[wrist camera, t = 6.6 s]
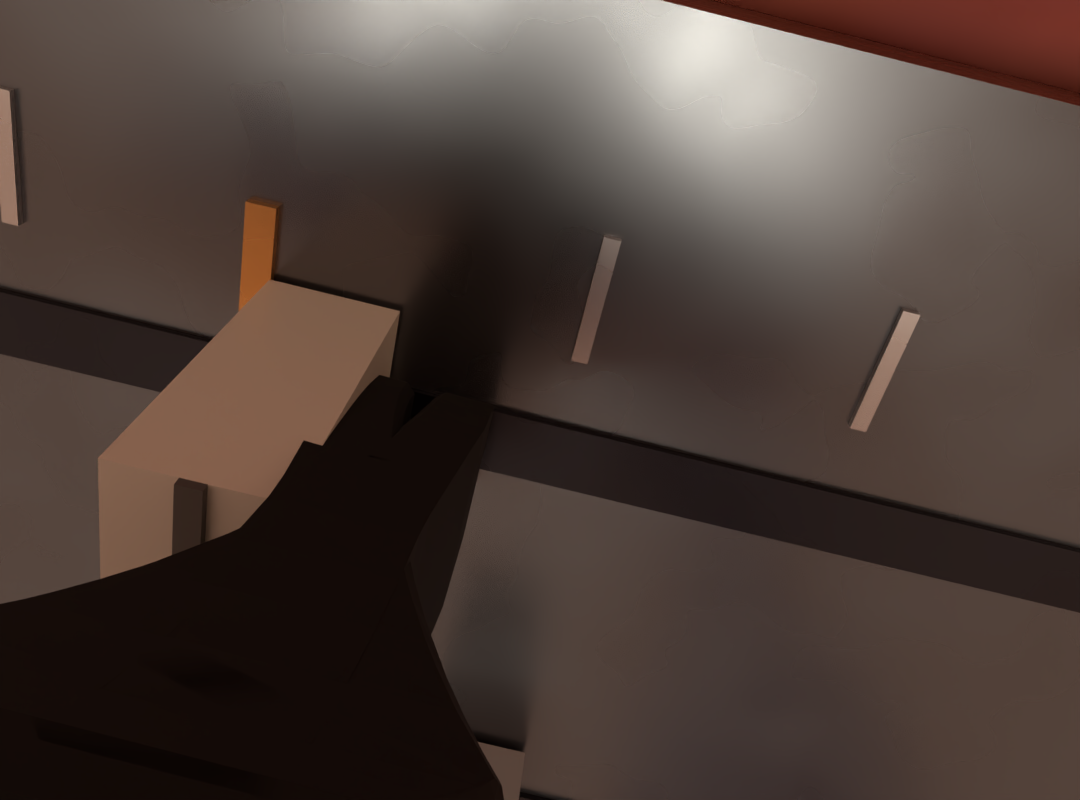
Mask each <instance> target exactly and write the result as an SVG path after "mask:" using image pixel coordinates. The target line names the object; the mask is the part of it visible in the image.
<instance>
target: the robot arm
mask: <svg viewBox="0 0 1080 800" xmlns="http://www.w3.org/2000/svg"><path fill="white" fill-rule="evenodd" d="M414 396H415V393H414V391H413V390H412V388H411V386H410V385H409V383H408V382H405V381H401V380H397V379H393V378H389V377H386V376H382V375H379V376H377V377H376V378H375V379H374V380H373V381H372V382H371V383H370V384H369V385H368V386H367V387H366V388H365V389H364V391H363V392H362V393H361V394H360V395H359V396H358V398H357V399H356V400H355V402H354V403H353V404H352V406H351V407H350V408H349V410H348V411H347V412H346V414H345V415H344V416H343V418H342V419H341V420H340V422H339V423H338V425H337V426H336V427H335V429H334V430H333V432H332V433H331V434H330V436H329V437H328V439H327V440H326V441H325V443H324V444H323V445H318V444H315V443H312V442H308V441H305V440H304V441H303V442H302V444H301V446H300V448H299V449H298V451H297V453H296V454H295V456H294V458H293V460H292V461H291V463H290V465H289V467H288V468H287V470H286V472H285V474H284V475H283V477H282V478H281V479H280V481H279V482H278V484H277V485H276V487H275V488H274V489H273V491H272V492H271V494H270V495H269V496H268V497H267V499H266V500H265V501H264V502H263V503H262V504H261V505H260V506H259V507H258V509H257V510H256V511H255V512H254V513H253V514H252V515H251V516H250V517H249V519H248V520H247V521H246V522H245V523H244V524H243V525H242V526H241V527H240V528H239V529H237V530H234V531H232V532H230V533H228V534H225V535H223V536H220V537H218V538H215V539H212V540H210V541H207V542H204V543H202V544H199V545H197V546H194V547H191V548H189V549H186V550H184V551H181V552H178V553H176V554H173V555H171V556H168V557H165V558H163V559H160V560H158V561H155V562H152V563H149V564H146V565H143V566H140V567H137V568H134V569H131V570H127V571H124V572H121V573H118V574H114V575H111V576H108V577H105V578H102V579H98V580H94V581H91V582H87V583H83V584H80V585H76V586H73V587H69V588H65V589H62V590H58V591H54V592H50V593H46V594H42V595H38V596H34V597H30V598H26V599H22V600H17V601H12V602H7V603H2V604H0V800H504V796H503V789H502V785H501V783H500V781H499V779H498V777H497V776H496V774H495V772H494V770H493V769H492V767H491V765H490V763H489V762H488V760H487V758H486V756H485V755H484V753H483V751H482V749H481V747H480V745H479V743H478V742H477V740H476V738H475V736H474V734H473V732H472V730H471V728H470V726H469V724H468V722H467V720H466V718H465V716H464V714H463V712H462V710H461V708H460V705H459V703H458V701H457V699H456V697H455V694H454V692H453V690H452V688H451V686H450V683H449V681H448V679H447V677H446V674H445V671H444V669H443V666H442V663H441V660H440V658H439V655H438V652H437V649H436V647H435V644H434V641H433V639H432V636H431V634H432V632H433V629H434V627H435V625H436V622H437V620H438V617H439V615H440V613H441V610H442V608H443V605H444V601H445V598H446V595H447V591H448V588H449V584H450V581H451V578H452V574H453V571H454V567H455V564H456V560H457V557H458V554H459V550H460V547H461V543H462V540H463V536H464V532H465V528H466V524H467V519H468V515H469V511H470V507H471V503H472V498H473V494H474V490H475V486H476V482H477V478H478V473H479V469H480V465H481V461H482V457H483V453H484V448H485V444H486V440H487V436H488V432H489V428H490V423H491V419H492V415H493V411H494V407H495V405H493V404H489V403H485V402H481V401H477V400H474V399H470V398H466V397H462V396H458V395H454V394H451V393H447V392H445V393H443V394H441V395H439V396H438V397H436V398H434V399H433V400H432V401H431V402H430V403H429V404H428V405H427V406H426V407H424V408H423V409H422V410H421V411H420V412H419V413H418V414H417V415H415V416H414V417H413V418H412V419H411V420H410V417H411V412H412V406H413V401H414Z"/></svg>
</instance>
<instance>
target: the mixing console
mask: <svg viewBox="0 0 1080 800" xmlns="http://www.w3.org/2000/svg"><path fill="white" fill-rule="evenodd" d="M269 280H274V281H278V282H282V283H286V284H290V285H294V286H299V287H303V288H307V289H311V290H315V291H319V292H323V293H327V294H331V295H336V296H340V297H344V298H348V299H352V300H356V301H360V302H364V303H369V304H373V305H377V306H381V307H385V308H389V309H393V310H397V311H400V315H399V321H398V327H397V334H396V340H395V346H394V352H393V359H392V365H391V371H390V378H393V379H397V380H401V381H405V382H408V383H409V385H410V386H411V388H412V390H413V391H414V393H415V396H414V401H413V406H412V412H411V417H410V420H411V419H412V418H413V417H414V416H415V415H417V414H418V413H419V412H420V411H421V410H422V409H423V408H424V407H426V406H427V405H428V404H429V403H430V402H431V401H432V400H433V399H434V398H436V397H438V396H439V395H441V394H443V393H445V392H447V393H451V394H454V395H458V396H462V397H466V398H470V399H474V400H477V401H481V402H485V403H489V404H493V405H495V407H494V411H493V415H492V419H491V423H490V428H489V432H488V436H487V440H486V444H485V448H484V453H483V457H482V461H481V465H480V469H479V473H478V478H477V482H476V486H475V490H474V494H473V498H472V503H471V507H470V511H469V515H468V519H467V524H466V528H465V532H464V536H463V540H462V543H461V547H460V550H459V554H458V557H457V560H456V564H455V567H454V571H453V574H452V578H451V581H450V584H449V588H448V591H447V595H446V598H445V601H444V605H443V608H442V610H441V613H440V615H439V617H438V620H437V622H436V625H435V627H434V629H433V632H432V634H431V636H432V639H433V641H434V644H435V647H436V649H437V652H438V655H439V658H440V660H441V663H442V666H443V669H444V671H445V674H446V677H447V679H448V681H449V683H450V686H451V688H452V690H453V692H454V694H455V697H456V699H457V701H458V703H459V705H460V708H461V710H462V712H463V714H464V716H465V718H466V720H467V722H468V724H469V726H470V728H471V730H472V732H473V734H474V736H475V738H476V740H477V742H481V743H485V744H489V745H493V746H498V747H502V748H506V749H511V750H515V751H519V752H523V753H525V757H524V764H523V772H522V779H521V786H520V794H519V800H1080V93H1076V92H1072V91H1068V90H1064V89H1060V88H1057V87H1053V86H1049V85H1045V84H1041V83H1037V82H1033V81H1029V80H1025V79H1021V78H1017V77H1013V76H1009V75H1005V74H1001V73H997V72H993V71H989V70H985V69H981V68H977V67H973V66H969V65H966V64H962V63H958V62H954V61H950V60H946V59H942V58H938V57H934V56H930V55H926V54H922V53H918V52H914V51H910V50H906V49H902V48H898V47H894V46H890V45H886V44H882V43H878V42H874V41H871V40H867V39H863V38H859V37H855V36H851V35H847V34H843V33H839V32H835V31H831V30H827V29H823V28H819V27H815V26H811V25H807V24H803V23H799V22H795V21H791V20H787V19H783V18H780V17H776V16H772V15H768V14H764V13H760V12H756V11H752V10H748V9H744V8H740V7H736V6H732V5H728V4H724V3H720V2H716V1H712V0H0V604H2V603H7V602H12V601H17V600H22V599H26V598H30V597H34V596H38V595H42V594H46V593H50V592H54V591H58V590H62V589H65V588H69V587H73V586H76V585H80V584H83V583H87V582H91V581H94V580H98V579H100V537H99V493H98V457H99V456H100V455H101V454H102V453H103V452H104V451H105V450H106V449H107V448H108V447H109V446H110V445H111V444H112V443H113V442H114V441H115V440H116V439H117V438H118V437H119V436H120V435H121V433H122V432H123V431H124V430H125V429H126V428H127V427H128V426H129V425H130V424H131V423H132V422H133V421H134V420H135V419H136V418H137V417H138V416H139V415H140V414H141V413H142V412H143V411H144V410H145V409H146V407H147V406H148V405H149V404H150V403H151V402H152V401H153V400H154V399H155V398H156V397H157V396H158V395H159V394H160V393H161V392H162V391H163V390H164V389H165V388H166V387H167V386H168V385H169V384H170V383H171V381H172V380H173V379H174V378H175V377H176V376H177V375H178V374H179V373H180V372H181V371H182V370H183V369H184V368H185V367H186V366H187V365H188V364H189V363H190V362H191V361H192V360H193V359H194V358H195V357H196V355H197V354H198V353H199V352H200V351H201V350H202V349H203V348H204V347H205V346H206V345H207V344H208V343H209V342H210V341H211V340H212V339H213V338H214V337H215V336H216V335H217V334H218V333H219V332H220V331H221V329H222V328H223V327H224V326H225V325H226V324H227V323H228V322H229V321H230V320H231V319H232V318H233V317H234V316H235V315H236V314H237V313H238V312H239V311H240V310H241V309H242V308H243V307H244V306H245V305H246V303H247V302H248V301H249V300H250V299H251V298H252V297H253V296H254V295H255V294H256V293H257V292H258V291H259V290H260V289H261V288H262V287H263V286H264V285H265V284H266V283H267V282H268V281H269Z"/></svg>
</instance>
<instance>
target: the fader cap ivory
mask: <svg viewBox="0 0 1080 800" xmlns="http://www.w3.org/2000/svg"><path fill="white" fill-rule="evenodd" d="M399 315H400V311H397V310H393V309H389V308H385V307H381V306H377V305H373V304H369V303H364V302H360V301H356V300H352V299H348V298H344V297H340V296H336V295H331V294H327V293H323V292H319V291H315V290H311V289H307V288H303V287H299V286H294V285H290V284H286V283H282V282H278V281H274V280H269V281H268V282H267V283H266V284H265V285H264V286H263V287H262V288H261V289H260V290H259V291H258V292H257V293H256V294H255V295H254V296H253V297H252V298H251V299H250V300H249V301H248V302H247V303H246V305H245V306H244V307H243V308H242V309H241V310H240V311H239V312H238V313H237V314H236V315H235V316H234V317H233V318H232V319H231V320H230V321H229V322H228V323H227V324H226V325H225V326H224V327H223V328H222V329H221V331H220V332H219V333H218V334H217V335H216V336H215V337H214V338H213V339H212V340H211V341H210V342H209V343H208V344H207V345H206V346H205V347H204V348H203V349H202V350H201V351H200V352H199V353H198V354H197V355H196V357H195V358H194V359H193V360H192V361H191V362H190V363H189V364H188V365H187V366H186V367H185V368H184V369H183V370H182V371H181V372H180V373H179V374H178V375H177V376H176V377H175V378H174V379H173V380H172V381H171V383H170V384H169V385H168V386H167V387H166V388H165V389H164V390H163V391H162V392H161V393H160V394H159V395H158V396H157V397H156V398H155V399H154V400H153V401H152V402H151V403H150V404H149V405H148V406H147V407H146V409H145V410H144V411H143V412H142V413H141V414H140V415H139V416H138V417H137V418H136V419H135V420H134V421H133V422H132V423H131V424H130V425H129V426H128V427H127V428H126V429H125V430H124V431H123V432H122V433H121V435H120V436H119V437H118V438H117V439H116V440H115V441H114V442H113V443H112V444H111V445H110V446H109V447H108V448H107V449H106V450H105V451H104V452H103V453H102V454H101V455H100V456H99V457H98V493H99V537H100V579H102V578H105V577H108V576H111V575H114V574H118V573H121V572H124V571H127V570H131V569H134V568H137V567H140V566H143V565H146V564H149V563H152V562H155V561H158V560H160V559H163V558H165V557H168V556H171V555H173V554H176V553H178V552H181V551H184V550H186V549H189V548H191V547H194V546H197V545H199V544H202V543H204V542H207V541H210V540H212V539H215V538H218V537H220V536H223V535H225V534H228V533H230V532H232V531H234V530H237V529H239V528H240V527H241V526H242V525H243V524H244V523H245V522H246V521H247V520H248V519H249V517H250V516H251V515H252V514H253V513H254V512H255V511H256V510H257V509H258V507H259V506H260V505H261V504H262V503H263V502H264V501H265V500H266V499H267V497H268V496H269V495H270V494H271V492H272V491H273V489H274V488H275V487H276V485H277V484H278V482H279V481H280V479H281V478H282V477H283V475H284V474H285V472H286V470H287V468H288V467H289V465H290V463H291V461H292V460H293V458H294V456H295V454H296V453H297V451H298V449H299V448H300V446H301V444H302V442H303V441H304V440H305V441H308V442H312V443H315V444H318V445H323V444H324V443H325V441H326V440H327V439H328V437H329V436H330V434H331V433H332V432H333V430H334V429H335V427H336V426H337V425H338V423H339V422H340V420H341V419H342V418H343V416H344V415H345V414H346V412H347V411H348V410H349V408H350V407H351V406H352V404H353V403H354V402H355V400H356V399H357V398H358V396H359V395H360V394H361V393H362V392H363V391H364V389H365V388H366V387H367V386H368V385H369V384H370V383H371V382H372V381H373V380H374V379H375V378H376V377H377V376H379V375H382V376H386V377H389V378H390V371H391V365H392V359H393V352H394V346H395V340H396V334H397V327H398V321H399Z"/></svg>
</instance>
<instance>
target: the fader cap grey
mask: <svg viewBox="0 0 1080 800" xmlns="http://www.w3.org/2000/svg"><path fill="white" fill-rule="evenodd" d="M478 743H479V745H480V747H481V749H482V751H483V753H484V755H485V756H486V758H487V760H488V762H489V763H490V765H491V767H492V769H493V770H494V772H495V774H496V776H497V777H498V779H499V781H500V783H501V785H502V789H503V796H504V800H519V794H520V786H521V779H522V772H523V764H524V757H525V753H523V752H519V751H515V750H511V749H506V748H502V747H498V746H493V745H489V744H485V743H481V742H478Z"/></svg>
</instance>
